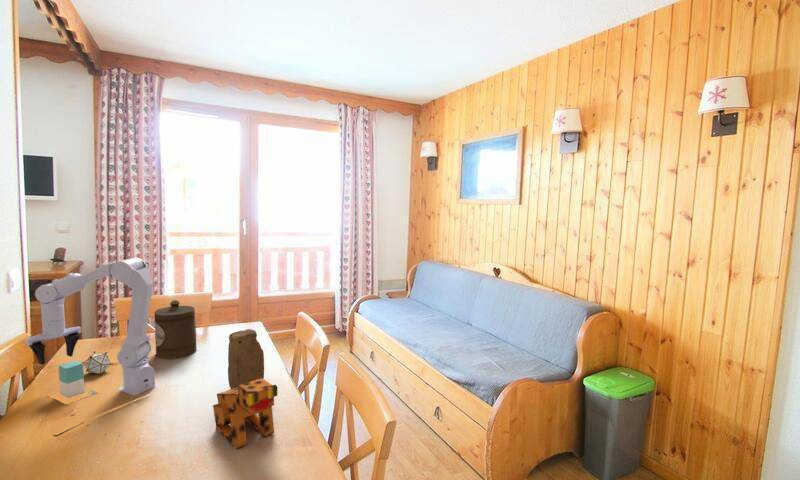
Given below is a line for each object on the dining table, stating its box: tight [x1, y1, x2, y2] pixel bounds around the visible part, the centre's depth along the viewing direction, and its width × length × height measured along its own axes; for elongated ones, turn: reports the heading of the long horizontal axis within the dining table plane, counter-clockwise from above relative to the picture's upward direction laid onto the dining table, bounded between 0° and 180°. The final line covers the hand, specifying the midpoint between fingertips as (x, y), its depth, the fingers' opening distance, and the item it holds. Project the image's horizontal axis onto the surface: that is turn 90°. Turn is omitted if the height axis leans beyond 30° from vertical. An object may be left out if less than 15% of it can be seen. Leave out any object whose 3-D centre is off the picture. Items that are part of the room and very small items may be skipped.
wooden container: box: [154, 299, 197, 360], centre depth 168 cm, size 15×15×22 cm
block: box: [227, 328, 265, 390], centre depth 138 cm, size 11×8×20 cm
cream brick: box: [59, 377, 85, 398], centre depth 131 cm, size 5×5×5 cm
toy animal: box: [212, 378, 278, 449], centre depth 112 cm, size 10×20×16 cm, turn 46°
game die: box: [81, 350, 114, 375], centre depth 147 cm, size 9×8×10 cm
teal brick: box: [58, 360, 85, 384], centre depth 130 cm, size 5×5×5 cm
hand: (56, 359), depth 134 cm, fingers open, 7 cm apart
